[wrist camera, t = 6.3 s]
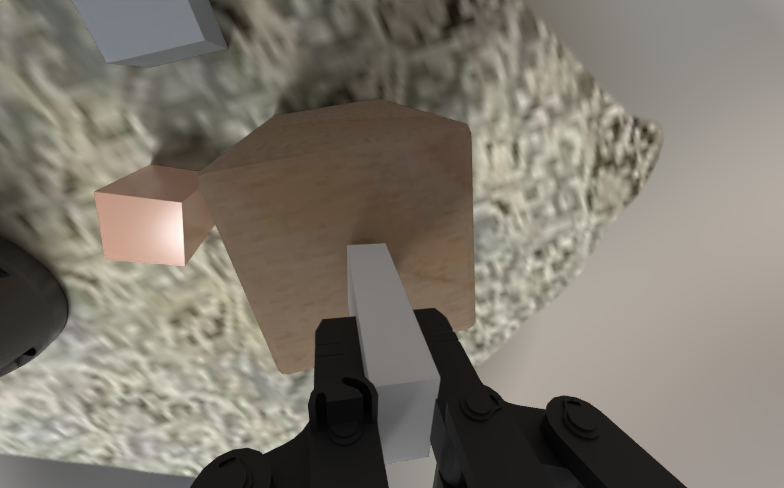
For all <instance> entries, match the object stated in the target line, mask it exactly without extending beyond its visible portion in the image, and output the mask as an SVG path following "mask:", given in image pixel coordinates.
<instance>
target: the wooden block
mask: <svg viewBox="0 0 784 488" xmlns="http://www.w3.org/2000/svg"><path fill="white" fill-rule="evenodd" d="M198 185H199V187H200V190H201V192H202V194H203V197H204V199H205V201H206V204H207V206H208V208H209V211H210V213H211V215H212V218H213V220H214V222H215V224H216V227H217V229H218V231H219V234H220V236H221V238H222V241H223V243H224V245H225V248H226V250H227V252H228V255H229V257H230V259H231V262H232V264H233V266H234V269H235V271H236V273H237V276H238V278H239V280H240V282H241V285H242V287H243V289H244V292H245V294H246V296H247V299H248V301H249V303H250V306H251V308H252V310H253V313H254V315H255V317H256V320H257V322H258V324H259V327H260V329H261V331H262V334H263V336H264V338H265V340H266V343H267V345H268V347H269V350H270V352H271V354H272V357H273V359H274V361H275V364H276V366H277V368H278V370H279V371H280V372H281V373H282V374H291V373H295V372H298V371H302V370H306V369H310V368H314V365H315V331H316V329H317V327H318V326H319V324H320V322H321V321H322V319H329V318H340V317H350V314H349V307H348V275H347V245H361V244H381V243H386V246H387V248H388V251H389V253H390V255H391V258H392V260H393V263H394V265H395V268H396V270H397V273H398V275H399V278H400V280H401V282H402V285H403V287H404V290H405V292H406V295H407V297H408V300H409V302H410V304H411V307H412V309H413V310H415V309H426V308H436V309H437V310H438V311H439V312H441V313H442V314H443V315H444V316H445V317H447V319H448V321H449V323H450V325H451V327H452V328H453V332H457V331H461V330H465V329H469V328H470V327H472V326H473V325H474V324H475V276H474V231H473V186H472V141H471V132H470V129H469V127H468V125H467V124H465V123H462V122H458V121H455V120H451V119H448V118H444V117H441V116H437V115H434V114H430V113H427V112H423V111H420V110H416V109H413V108H410V107H406V106H403V105H399V104H396V103H392V102H389V101H385V100H382V99H372V100H366V101H359V102H353V103H347V104H341V105H335V106H329V107H323V108H317V109H311V110H305V111H299V112H293V113H287V114H281V115H275V116H273V117H272V118H270V119H269V120H268V121H266V122H265V123H264V124H262V125H261V126H260V127H258V128H257V129H256V130H254V131H253V132H252V133H250V134H249V135H248V136H246V137H245V138H244V139H242V140H241V141H240V142H238V143H237V144H235V145H234V146H233V147H231V148H230V149H229V150H227V151H226V152H225V153H223V154H222V155H221V156H219V157H218V158H217V159H215V160H214V161H213V162H211V163H210V164H209V165H207V166H206V167H205V168H203V169H202V170H201V171H199V172H198Z"/></svg>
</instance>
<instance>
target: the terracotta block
mask: <svg viewBox="0 0 784 488" xmlns="http://www.w3.org/2000/svg"><path fill="white" fill-rule="evenodd" d="M198 172H199V171H193V170H186V169H179V168H173V167H166V166H159V165H152V164H150V165H148V166H146V167H144V168H142V169H140V170H138V171H136V172H134V173H132V174H130V175H128V176H125V177H123V178H121V179H119V180H117V181H115V182H113V183H111V184H109V185H107V186H105V187H103V188H101V189H99V190H97V191H95V192H94V195H95V201H96V207H97V213H98V219H99V226H100V232H101V238H102V244H103V250H104V256H105V260H116V261H129V262H142V263H154V264H167V265H180V266H185V265H186V264H187V262H188V261H189V260H190V258H191V257H192V256H193V254H194V253H195V251H196V250H197V249H198V247H199V246H200V245H201V243H202V242H203V241H204V239H205V238H206V236H207V235H208V234H209V232H210V231H211V230H212V228H213V227H214V226H215V222H214V220H213V218H212V215H211V213H210V211H209V208H208V206H207V204H206V201H205V199H204V197H203V194H202V192H201V190H200V187H199V185H198Z"/></svg>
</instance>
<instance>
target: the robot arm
mask: <svg viewBox="0 0 784 488" xmlns="http://www.w3.org/2000/svg"><path fill="white" fill-rule="evenodd" d="M347 275H348V307H349V314H350V317H340V318H329V319H322V321H321V322H320V324H319V326H318V327H317V329H316V331H315V365H314V390H313V391H312V392H311V395H310V399H309V403H308V410H309V422H308V424H307V425H306V427H305V428H304V429H303V431H302V432H300V433H299V434H298V435H297V436H296V437H295V438H294V439H292V440H290V441H289V442H287V443H285V444H284V445H282V446H280V447H278V448H275V449H273V450H271V451H269V452H267V453H265V454H262V453H261V452H260V451H257V450H253V449H250V448H243V449H235V450H231V451H229V452H227V453H225V454H223V455H220V456H218V457H217V458H216V459H214V460H213V461H212V462H211V463H210V464H208V465H207V466H206V467H205V468H204V469H203V470H202V471H201V473H200V474H199V475H198V477H197V478H196V479H195V481H194V482H193V484H192V485H191V487H190V488H389V487H388V481H387V475H386V469H385V465H386V464H392V463H397V462H402V461H408V460H413V459H418V458H424V457H429V453H430V445H432V448H433V452H434V455H435V459H436V462H437V464H436V470H435V476H434V483H433V488H687V487H686V486H685V485H683V484H682V483H681V482H680V481H679V480H678V479H677V478H676V477H674V476H673V475H672V474H671V473H670V472H669V471H667V470H666V469H665V468H664V467H663V466H662V465H661V464H660V463H659V462H657V461H656V460H655V459H654V458H653V457H652V456H651V455H650V454H648V453H647V452H646V451H645V450H644V449H643V448H642V447H640V446H639V445H638V444H637V443H636V442H635V441H634V440H633V439H631V438H630V437H629V436H628V435H627V434H626V433H625V432H623V431H622V430H621V429H620V428H619V427H618V426H617V425H616V424H614V423H613V422H612V421H611V420H610V419H609V418H608V417H607V416H605V415H604V414H603V413H602V412H601V411H599V410H598V409H597V408H595V407H594V406H592V405H591V404H590V403H588V402H585V401H583V400H581V399H579V398H576V397H570V396H559V397H554V398H553V399H552V400H551V401H550V402H549V403H548V404H547V407H546V409H539V408H533V407H526V406H520V405H515V404H511V403H508V402H506V401H504V400H503V399H502V398H501V396H500V395H499V394H498V393H497V392H495V391H494V390H492V389H491V388H490V387H488V386H485V385H483V383H482V382H481V381H480V379H479V377H478V375H477V373H476V371H475V369H474V367H473V366H472V364H471V362H470V360H469V358H468V356H467V354H466V353H465V351H464V349H463V347H462V345H461V343H460V342H459V341H458V338H457V336H456V334H455V332H453V328H452V327H451V325H450V323H449V321H448V319H447V317H445V316H444V315H443V314H442V313H441V312H439V311H438V310H437V309H436V308H426V309H415V310H413V309H412V307H411V304H410V302H409V300H408V297H407V295H406V292H405V290H404V287H403V285H402V282H401V280H400V278H399V275H398V273H397V270H396V268H395V265H394V263H393V260H392V258H391V255H390V253H389V251H388V248H387V246H386V243H381V244H361V245H347ZM66 319H67V304H66V300H65V297H64V294H63V292H62V290H61V288H60V286H59V285H58V283H57V281H56V280H55V279H54V277H53V276H52V275H51V274H50V273H49V272H48V270H47V269H46V268H45V267H44V266H42V265H41V264H40V263H39V262H38V261H37V260H35V259H34V258H33V257H32V256H30V255H29V254H27V253H26V252H25V251H23V250H21V249H20V248H18V247H16V246H15V245H13V244H11V243H9V242H7V241H5V240H3V239H1V238H0V377H2V376H4V375H6V374H8V373H10V372H12V371H13V370H15V369H17V368H19V367H21V366H23V365H25V364H27V363H28V362H30V361H31V360H33V359H34V358H36V357H37V356H38V355H39V354H40V353H42V352H43V351H44V350H45V349H46V348H47V347H48V346H49V345H50V344H51V343H52V342H53V341H54V340H55V339H56V338H57V337H58V336H59V334H60V333H61V332H62V330H63V328H64V326H65V323H66Z"/></svg>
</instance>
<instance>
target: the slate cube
mask: <svg viewBox="0 0 784 488" xmlns="http://www.w3.org/2000/svg"><path fill="white" fill-rule="evenodd" d="M71 1H72V2H73V4H74V6H75V8H76V10H77V11H78V13H79V15H80V17H81V18H82V20H83V22H84V24H85V26H86V27H87V29H88V31H89V33H90V34H91V36H92V38H93V40H94V42H95V43H96V45H97V47H98V49H99V50H100V52H101V54H102V56H103V58H104V59H105V61H106V63H107V64H119V65H131V66H142V67H154V66H158V65H162V64H167V63H171V62H175V61H179V60H183V59H188V58H192V57H196V56H200V55H204V54H209V53H213V52H217V51H221V50H225V49H228V47H227V44H226V42H225V39H224V37H223V34H222V32H221V29H220V27H219V24H218V22H217V19H216V17H215V14H214V12H213V9H212V7H211V4H210V2H209V0H71Z"/></svg>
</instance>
